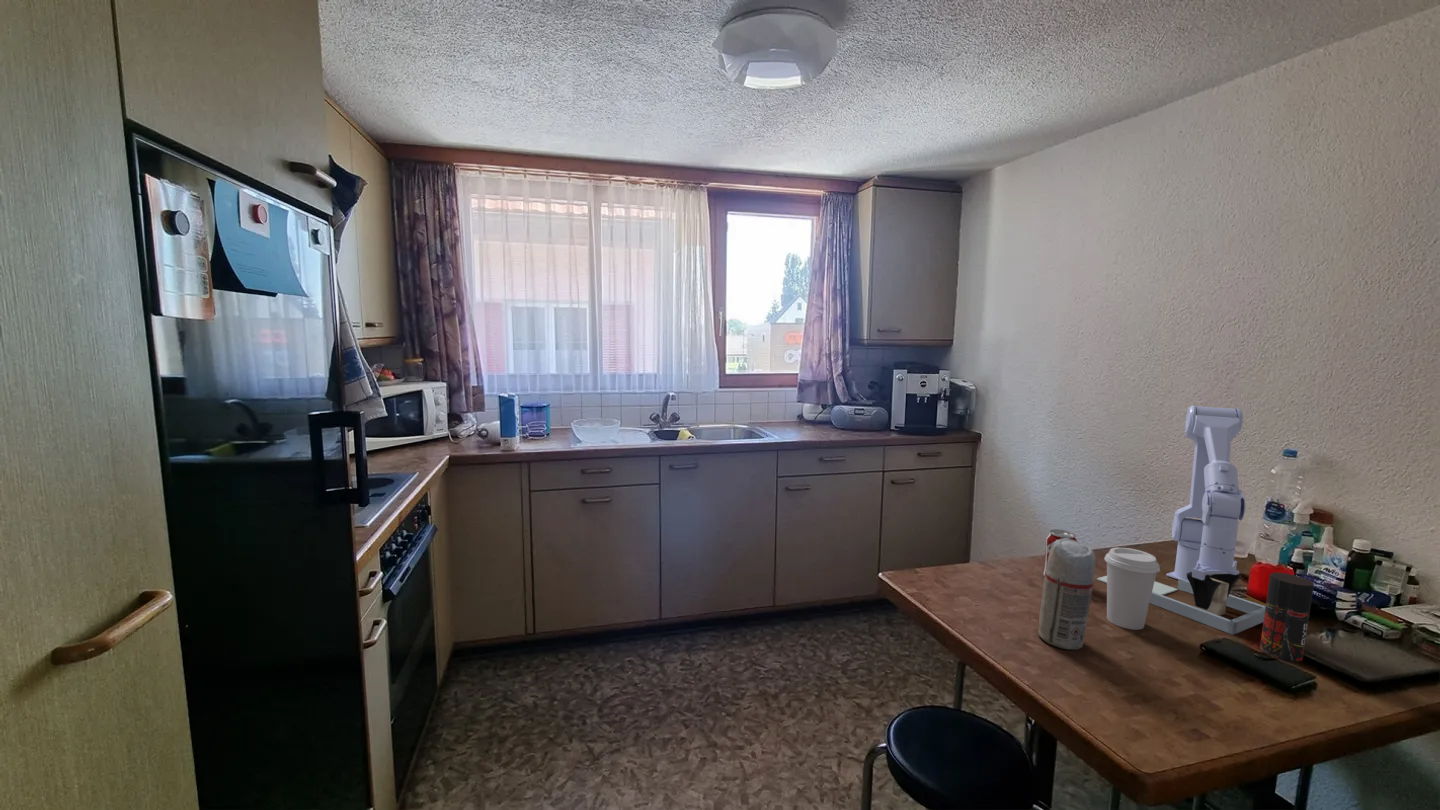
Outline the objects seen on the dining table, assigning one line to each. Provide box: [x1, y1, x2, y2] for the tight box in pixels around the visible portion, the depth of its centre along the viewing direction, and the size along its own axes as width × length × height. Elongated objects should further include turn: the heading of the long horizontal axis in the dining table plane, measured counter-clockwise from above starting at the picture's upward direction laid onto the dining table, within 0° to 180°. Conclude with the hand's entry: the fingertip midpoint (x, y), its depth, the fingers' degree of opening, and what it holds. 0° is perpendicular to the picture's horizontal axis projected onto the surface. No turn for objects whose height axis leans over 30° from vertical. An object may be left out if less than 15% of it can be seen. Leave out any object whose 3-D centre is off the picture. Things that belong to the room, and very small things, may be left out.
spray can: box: [1036, 538, 1097, 650], centre depth 113 cm, size 8×8×20 cm
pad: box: [1096, 575, 1179, 596], centre depth 142 cm, size 12×12×1 cm
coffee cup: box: [1104, 547, 1161, 631], centre depth 122 cm, size 10×10×15 cm
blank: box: [1193, 578, 1229, 617], centre depth 128 cm, size 4×4×7 cm
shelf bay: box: [1149, 578, 1266, 636], centre depth 129 cm, size 16×17×2 cm
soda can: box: [1042, 529, 1078, 577], centre depth 143 cm, size 7×7×12 cm
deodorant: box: [1259, 572, 1315, 663], centre depth 111 cm, size 6×6×15 cm
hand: (1210, 604), depth 128 cm, fingers open, 7 cm apart
